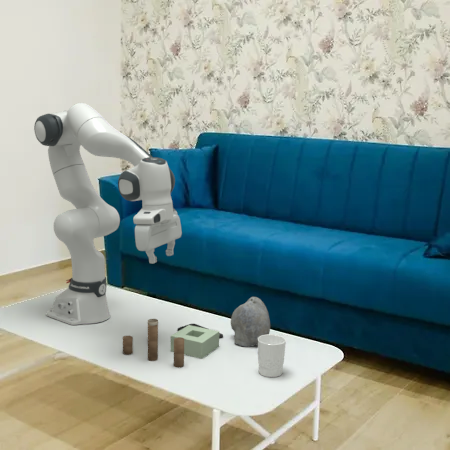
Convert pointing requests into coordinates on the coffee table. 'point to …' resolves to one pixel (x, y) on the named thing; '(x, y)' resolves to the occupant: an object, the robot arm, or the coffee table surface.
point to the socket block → (197, 341)
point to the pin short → (127, 345)
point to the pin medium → (178, 352)
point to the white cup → (271, 355)
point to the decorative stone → (250, 322)
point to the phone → (198, 326)
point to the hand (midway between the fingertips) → (161, 259)
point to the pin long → (152, 339)
